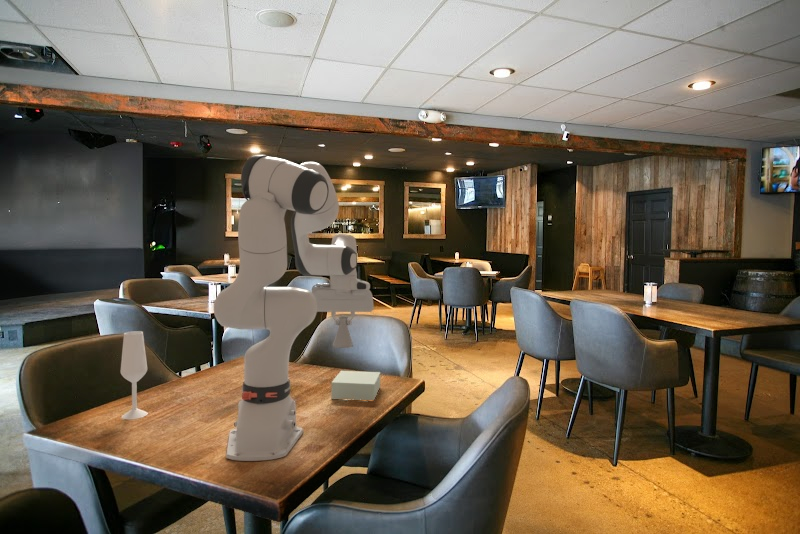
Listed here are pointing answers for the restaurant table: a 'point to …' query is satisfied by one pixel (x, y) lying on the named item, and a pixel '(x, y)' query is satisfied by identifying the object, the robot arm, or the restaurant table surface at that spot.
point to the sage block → (355, 385)
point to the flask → (343, 334)
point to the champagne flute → (133, 368)
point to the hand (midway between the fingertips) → (342, 325)
